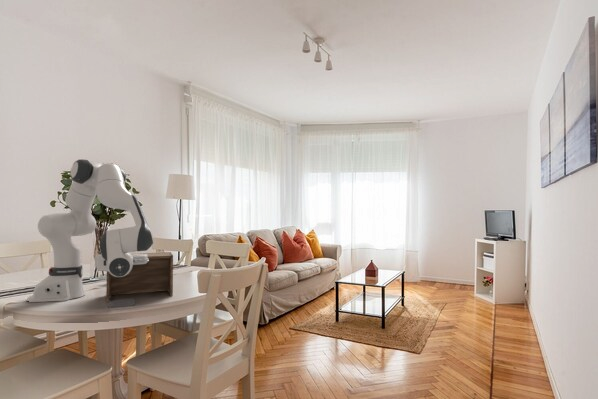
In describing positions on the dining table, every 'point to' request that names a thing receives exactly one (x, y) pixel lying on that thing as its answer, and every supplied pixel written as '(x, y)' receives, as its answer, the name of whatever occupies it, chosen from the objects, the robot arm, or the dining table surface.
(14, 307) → the dining table surface
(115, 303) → the mat
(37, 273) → the dining table surface
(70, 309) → the dining table surface
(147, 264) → the wooden bench shelf
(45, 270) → the dining table surface
